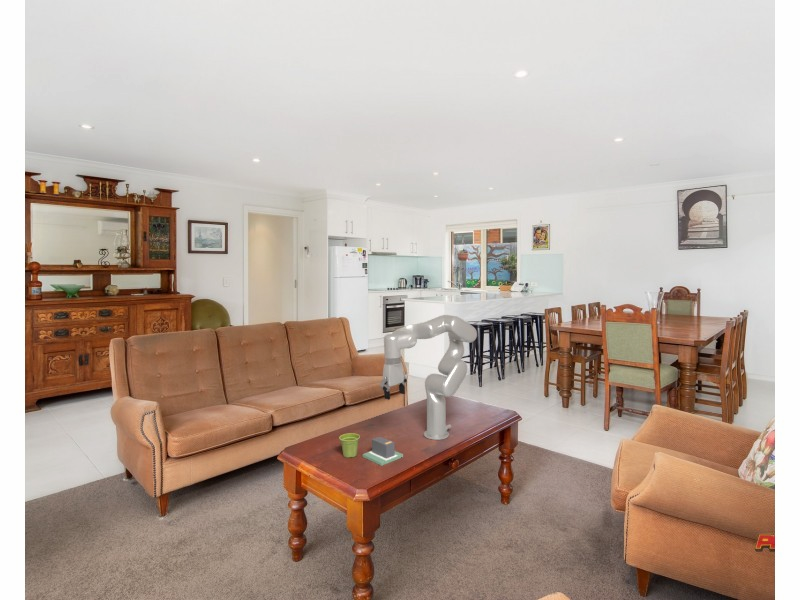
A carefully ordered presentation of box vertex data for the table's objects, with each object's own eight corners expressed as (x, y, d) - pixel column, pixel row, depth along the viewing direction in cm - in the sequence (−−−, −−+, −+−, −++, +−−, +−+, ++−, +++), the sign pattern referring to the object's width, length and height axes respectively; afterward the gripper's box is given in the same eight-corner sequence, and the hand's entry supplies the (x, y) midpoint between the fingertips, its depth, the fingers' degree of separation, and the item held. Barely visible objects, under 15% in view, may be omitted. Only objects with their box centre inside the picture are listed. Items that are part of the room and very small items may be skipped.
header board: (383, 448, 216) (383, 437, 215) (403, 456, 207) (403, 445, 206) (362, 456, 207) (362, 445, 206) (381, 465, 198) (381, 453, 197)
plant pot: (335, 456, 207) (334, 438, 207) (348, 449, 215) (348, 431, 215) (351, 461, 202) (350, 442, 202) (364, 453, 210) (364, 435, 209)
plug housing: (380, 449, 212) (379, 436, 212) (394, 455, 205) (394, 442, 204) (371, 452, 209) (371, 438, 208) (386, 458, 201) (386, 445, 201)
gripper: (400, 355, 221) (401, 390, 223) (373, 363, 209) (375, 399, 211) (411, 358, 216) (413, 393, 218) (385, 365, 204) (387, 402, 206)
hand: (394, 396), depth 215 cm, fingers open, 9 cm apart
